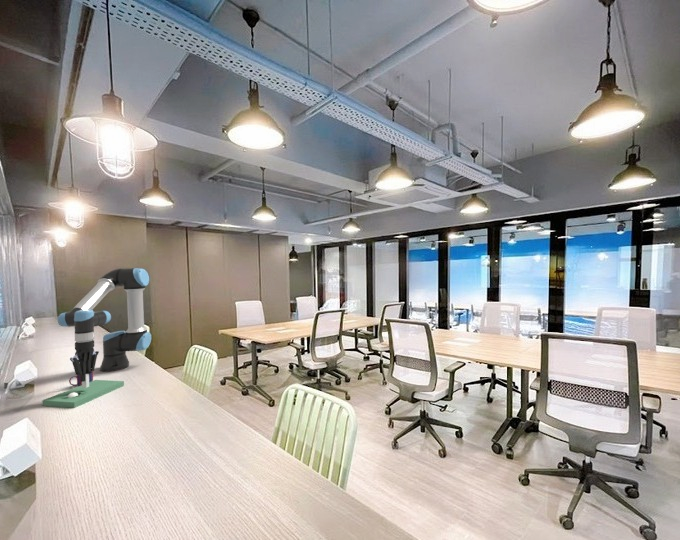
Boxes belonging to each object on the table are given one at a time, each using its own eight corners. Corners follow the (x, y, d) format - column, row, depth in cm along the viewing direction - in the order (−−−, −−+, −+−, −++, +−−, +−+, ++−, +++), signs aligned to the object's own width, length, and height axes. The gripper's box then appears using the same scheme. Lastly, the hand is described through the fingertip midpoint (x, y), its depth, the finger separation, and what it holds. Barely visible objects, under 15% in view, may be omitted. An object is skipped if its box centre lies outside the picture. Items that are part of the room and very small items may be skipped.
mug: (94, 384, 165) (93, 372, 165) (70, 390, 158) (69, 377, 158) (91, 381, 170) (91, 369, 170) (68, 387, 162) (68, 374, 162)
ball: (75, 393, 148) (68, 391, 145) (82, 394, 147) (75, 391, 144) (69, 402, 145) (63, 399, 142) (76, 402, 145) (70, 399, 142)
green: (95, 384, 166) (95, 379, 166) (123, 385, 163) (123, 381, 163) (42, 405, 140) (42, 400, 140) (74, 407, 137) (74, 402, 137)
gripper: (90, 337, 158) (91, 381, 158) (64, 343, 145) (65, 391, 145) (103, 337, 157) (103, 382, 157) (77, 344, 144) (78, 392, 144)
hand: (85, 386), depth 151 cm, fingers closed
